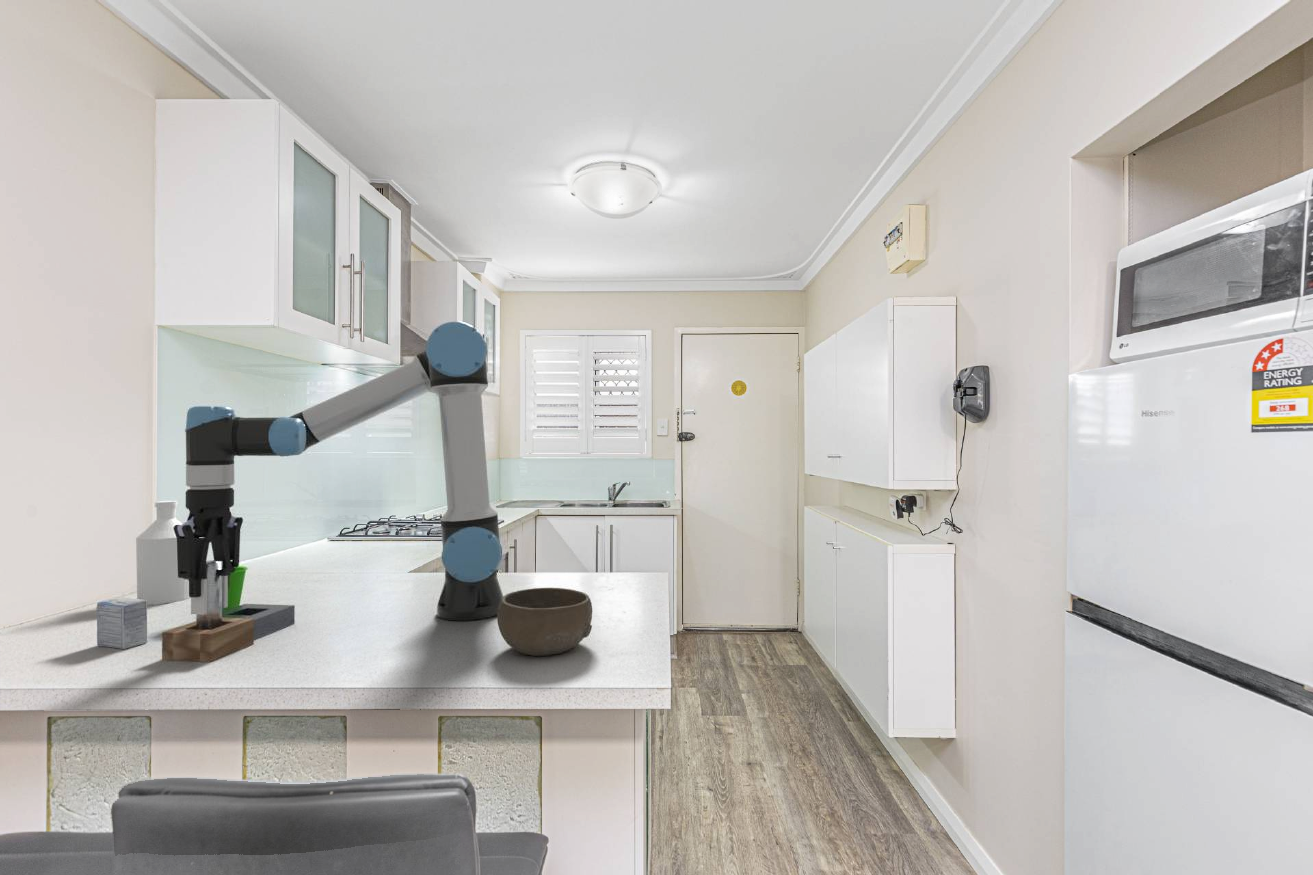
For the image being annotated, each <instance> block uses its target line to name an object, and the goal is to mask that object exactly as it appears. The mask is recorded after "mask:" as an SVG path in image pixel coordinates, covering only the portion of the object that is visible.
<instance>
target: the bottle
mask: <svg viewBox="0 0 1313 875" xmlns="http://www.w3.org/2000/svg"><path fill="white" fill-rule="evenodd" d="M178 503H179V502H178V500H161V501H160V500H159V501H154V507H155V508H156V520H154V521H153V523H151V524H150V525H149V526H148V527H147V528H146V529H145V530H144V531H143V532H141V533H140V534H139V535H137V537H136V538H135V544H136V545H135V546H136V548H135V549H136V556H135V557H136V596H137V598H136V599H142V600H146V601H147V606H148V605H151V606H152V605H161V604H170V603H175V602H176V603H177V602H182V601H185V600H189V599H191V597H189V580H188V579H183V578H179V577H178V562H177V537H176V535H175V532H174V526H175V525H182V524H183V523H182V522H181V521H180V520H178V519H177V518H176V517H177V507H178Z"/></svg>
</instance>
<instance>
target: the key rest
mask: <svg viewBox="0 0 1313 875" xmlns="http://www.w3.org/2000/svg"><path fill="white" fill-rule="evenodd" d="M254 643H255V640H254V619H248V618H222V626H220V627H218V628H215V629H212V630H198V629H196V621H193V622H189V623H186V624H183V625H180V626H177V627H174V628H172V629H168V630H163V631H162V632H161V660H163V661H186V662H189V661H190V662H208V663H209V662H211V663H212V662H214V661H217V660H219V659H221V658H224V657H226V656H229V655H231V654H233V653H236V652H238V651H241V650H243V649H246V648H248V647H251V646H253V645H254Z"/></svg>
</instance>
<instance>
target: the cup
mask: <svg viewBox="0 0 1313 875" xmlns="http://www.w3.org/2000/svg"><path fill="white" fill-rule="evenodd" d="M234 568H235V571H234V572H233V573H231V575H230V580H229V581H230V582H229V588H228V607H226V608H222V611H224V610H228V609H231V608H234V607H237V606H240V605H241V599H242V593H243V588H244V583H245V577H246V573H247V572H246V571H247V570H248V569H249V568H248V567H247V566H244V565H243V566H242V565H239V566H238V567H234Z"/></svg>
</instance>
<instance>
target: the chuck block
mask: <svg viewBox="0 0 1313 875" xmlns="http://www.w3.org/2000/svg"><path fill="white" fill-rule="evenodd" d="M295 608H296V606H295V605H294V604H264V603H262V604H259V603H243V604H240V605H239V606H237V607H234V608H231V609H228V610H224V611H222V618H248V619H254V641H256V640H257V639H261V638H263V637H265V636H267V635H269V634H272V633H275V632H277V631H280V630H282V629H284V628H287V627H289V626H292V625H295V622H296V620H295V618H296V617H295V616H296V615H295V614H296V613H295V612H296V611H295V610H296V609H295Z"/></svg>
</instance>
